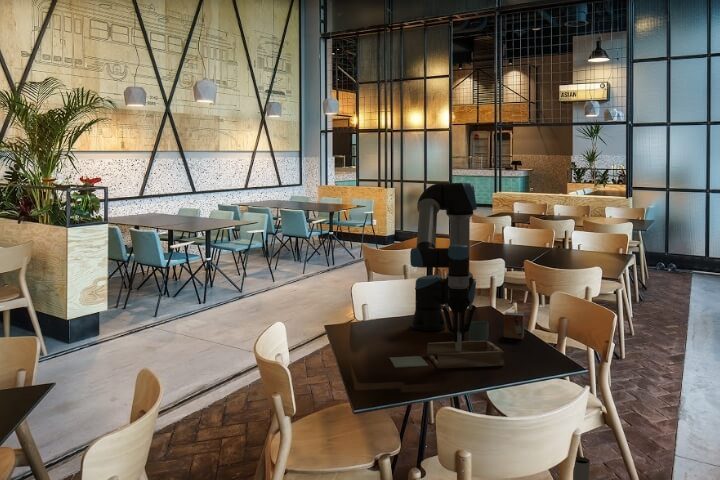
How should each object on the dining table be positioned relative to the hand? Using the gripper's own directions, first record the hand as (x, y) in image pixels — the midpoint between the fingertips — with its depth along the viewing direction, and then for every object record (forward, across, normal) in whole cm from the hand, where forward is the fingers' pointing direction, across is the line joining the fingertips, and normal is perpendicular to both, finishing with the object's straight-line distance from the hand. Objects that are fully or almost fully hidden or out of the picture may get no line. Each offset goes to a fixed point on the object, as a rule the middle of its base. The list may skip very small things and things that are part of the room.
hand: (458, 350), depth 219 cm
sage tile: (+4, -19, +1) cm, 19 cm away
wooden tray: (+4, +2, 0) cm, 5 cm away
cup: (+4, +13, +17) cm, 22 cm away
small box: (+4, +34, +30) cm, 45 cm away
